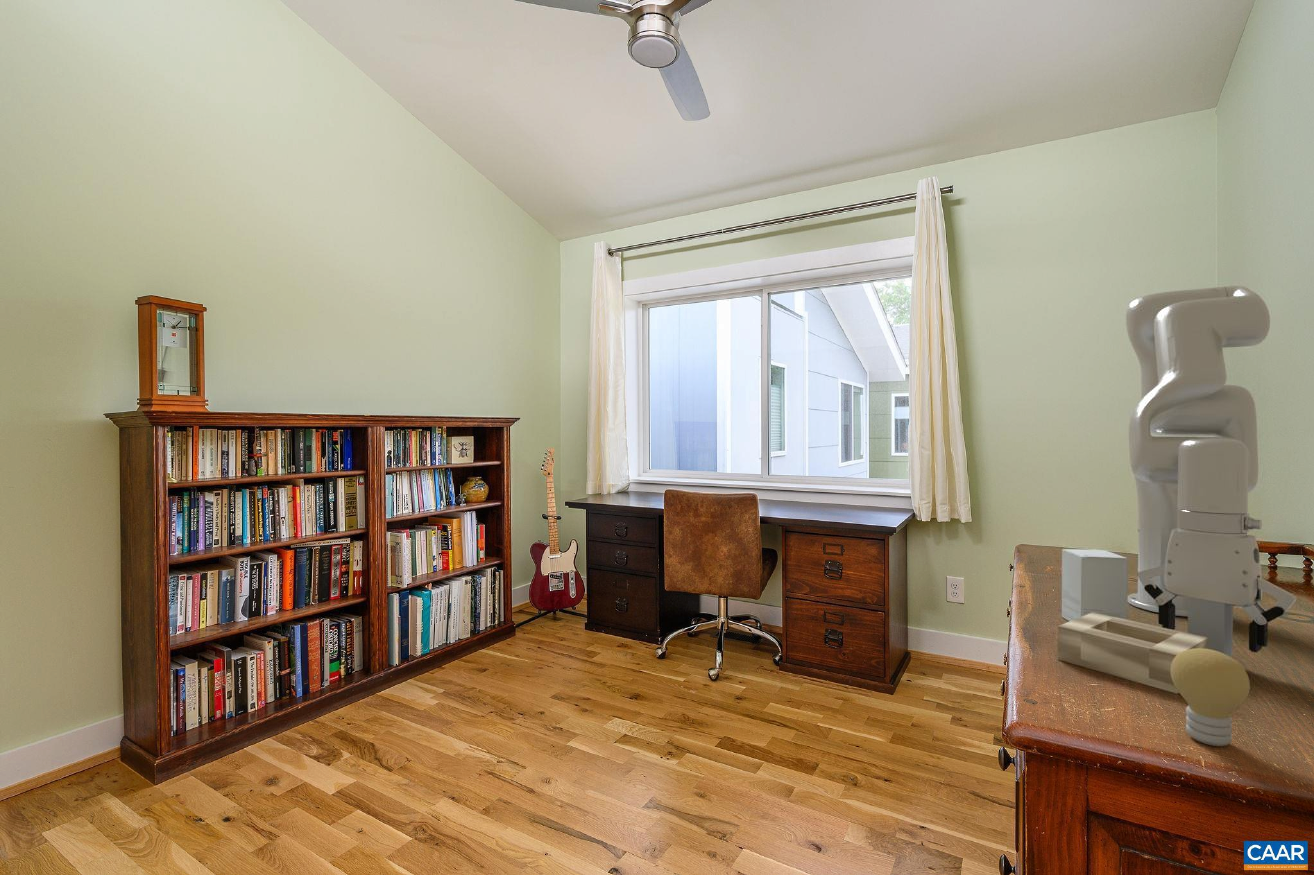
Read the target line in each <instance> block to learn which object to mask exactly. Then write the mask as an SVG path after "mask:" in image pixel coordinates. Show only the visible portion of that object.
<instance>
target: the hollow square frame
mask: <svg viewBox="0 0 1314 875" xmlns="http://www.w3.org/2000/svg"><path fill="white" fill-rule="evenodd" d="M1195 648H1203V649H1208V637H1204V636H1199V635H1194V634H1190V633H1188V632H1185V631H1181V630H1176V629H1174V630H1172V629H1167V628H1162V626H1157V625H1153V624H1148V623H1142V622H1139V621H1134V620H1130V619H1128V620H1126V619H1121V618H1117V617H1112V616H1108V615H1103V614H1098V613H1094V612H1092V613H1090V614H1087V615H1085V616H1082V617H1080V618H1077V619H1075V620H1072V621H1070V622H1069V621H1067V622H1065V623H1063V624H1060V625H1058V626H1057V660H1058V661H1060V662H1061V661H1062V662H1066V663H1069V664H1073V665H1077V666H1079V667H1084V668H1087V669H1090V670H1094V671H1097V672H1100V673H1103V674H1106V675H1110V676H1115V677H1118V678H1122V679H1124V680H1128V681H1131V682H1135V683H1139V684H1142V685H1146V686H1148V687H1153V688H1156V689H1159V690H1163V691H1166V692H1170V693H1174V694H1175V695H1177V694H1180V693H1179V691H1178V690H1177V688H1176V687H1175V685H1174V683H1173V680H1172V677H1171V664H1172V661H1173V659H1174V658H1175V657H1176V655H1177V654H1179V653H1180V652H1182V651H1185V650H1189V649H1195Z"/></svg>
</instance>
